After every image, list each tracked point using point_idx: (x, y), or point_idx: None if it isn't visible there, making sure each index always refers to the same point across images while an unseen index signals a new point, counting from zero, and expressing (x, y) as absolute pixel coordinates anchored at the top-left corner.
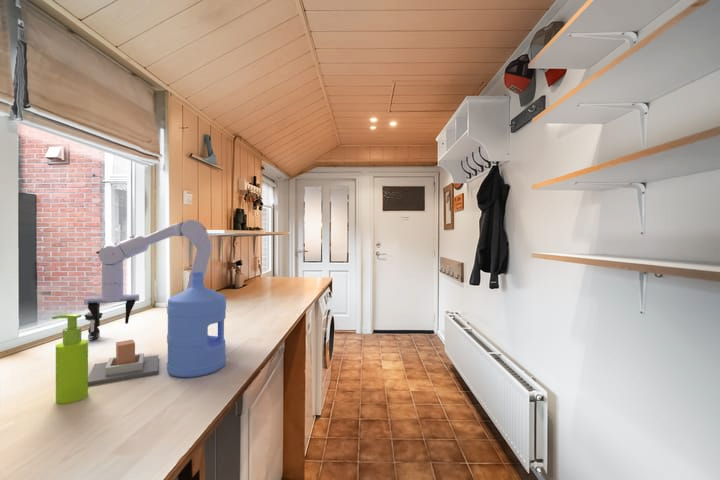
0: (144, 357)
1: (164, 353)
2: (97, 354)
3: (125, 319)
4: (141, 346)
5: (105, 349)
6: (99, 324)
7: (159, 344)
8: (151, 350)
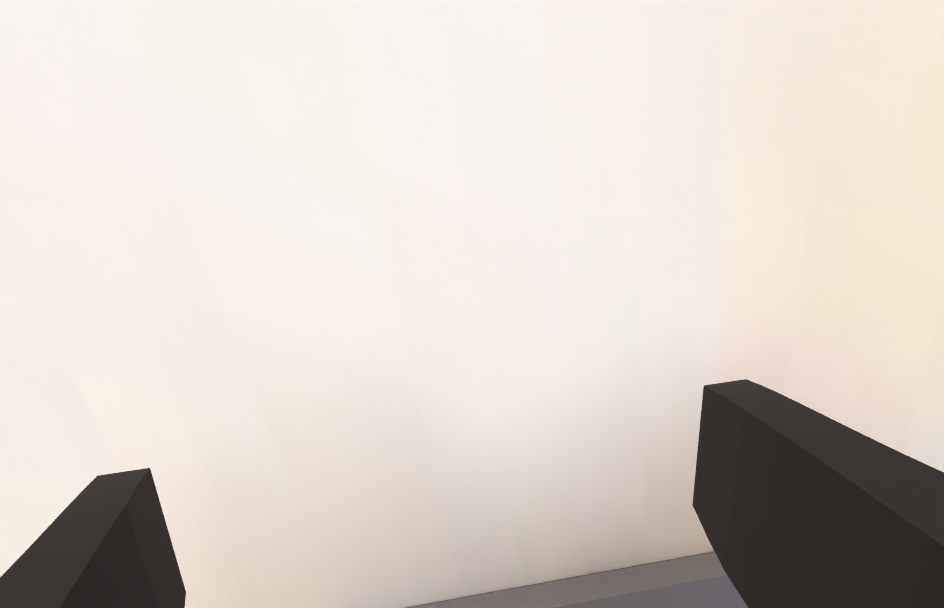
0: (722, 588)
1: (880, 428)
2: (206, 225)
3: (748, 605)
4: (703, 67)
5: (239, 7)
6: (152, 506)
7: (906, 67)
8: (791, 291)
